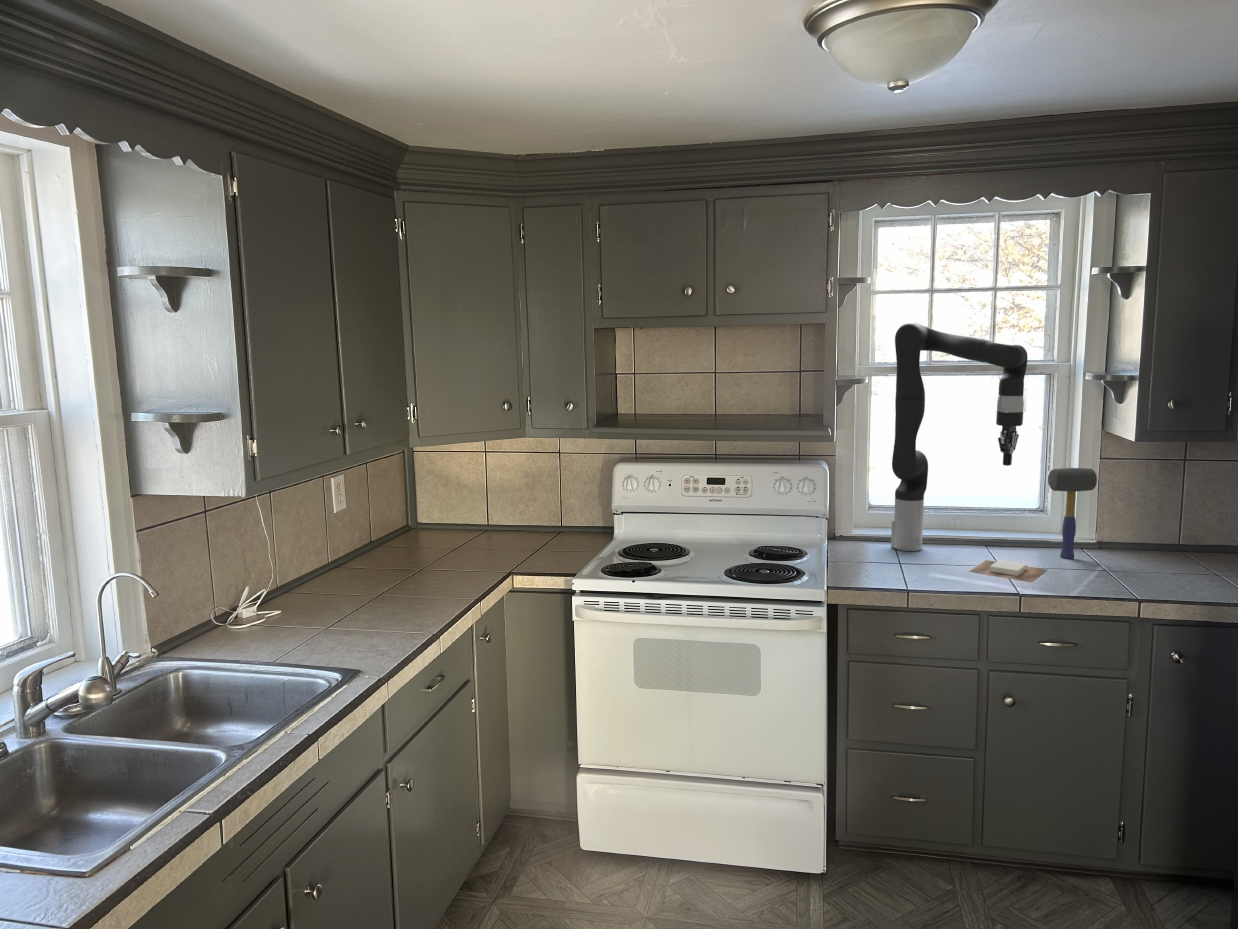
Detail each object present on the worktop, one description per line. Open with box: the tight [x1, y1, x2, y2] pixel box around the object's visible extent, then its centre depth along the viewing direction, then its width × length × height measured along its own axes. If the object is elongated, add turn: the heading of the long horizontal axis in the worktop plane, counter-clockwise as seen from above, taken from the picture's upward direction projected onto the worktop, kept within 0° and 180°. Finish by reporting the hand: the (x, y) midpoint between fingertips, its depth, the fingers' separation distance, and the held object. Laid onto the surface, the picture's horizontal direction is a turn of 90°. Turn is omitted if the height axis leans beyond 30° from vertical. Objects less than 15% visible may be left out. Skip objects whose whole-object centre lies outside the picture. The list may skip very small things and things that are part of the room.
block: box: [990, 559, 1028, 576], centre depth 257 cm, size 8×2×9 cm
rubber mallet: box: [1047, 467, 1098, 560], centre depth 268 cm, size 12×8×30 cm, turn 88°
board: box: [968, 559, 1048, 583], centre depth 257 cm, size 18×16×1 cm
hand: (1007, 465), depth 267 cm, fingers closed
